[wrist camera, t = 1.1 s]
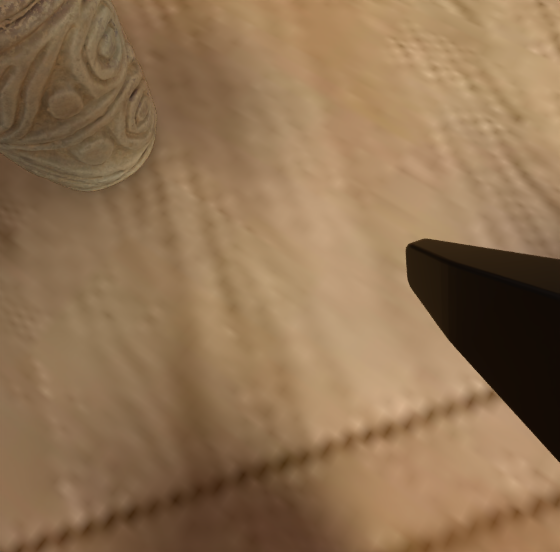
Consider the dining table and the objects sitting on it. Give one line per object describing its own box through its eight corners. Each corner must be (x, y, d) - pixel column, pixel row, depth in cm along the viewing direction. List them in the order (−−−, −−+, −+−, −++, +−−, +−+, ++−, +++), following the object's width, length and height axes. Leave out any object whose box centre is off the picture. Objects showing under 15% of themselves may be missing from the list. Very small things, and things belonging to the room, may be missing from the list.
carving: (5, 151, 24) (-232, -69, 12) (117, 74, 25) (3, -187, 14) (78, 234, 23) (-102, 84, 11) (189, 149, 24) (132, -60, 13)
